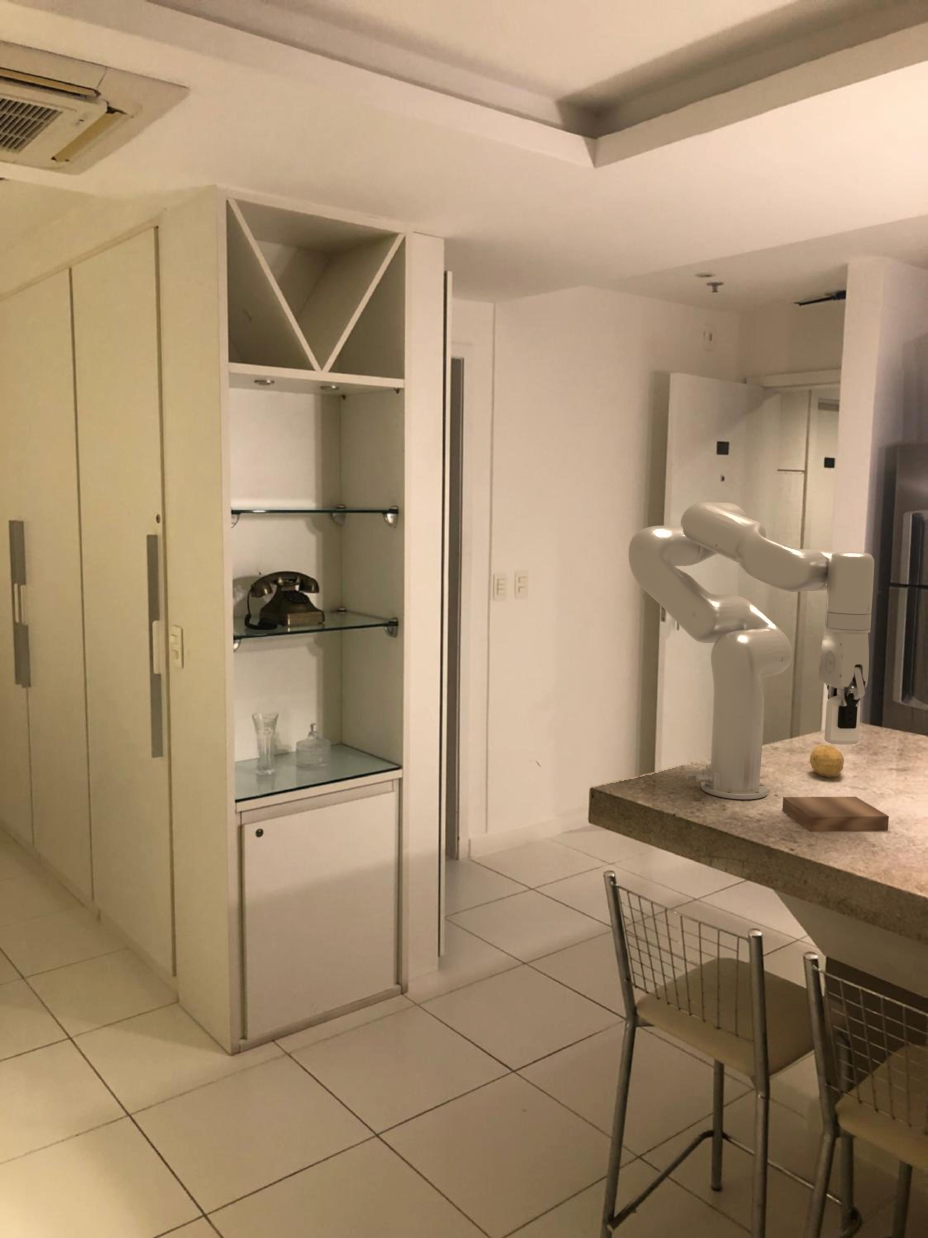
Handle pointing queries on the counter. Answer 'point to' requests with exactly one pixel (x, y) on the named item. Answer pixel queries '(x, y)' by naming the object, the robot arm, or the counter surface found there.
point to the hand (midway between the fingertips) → (841, 724)
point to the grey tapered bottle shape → (831, 728)
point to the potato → (827, 761)
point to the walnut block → (835, 814)
